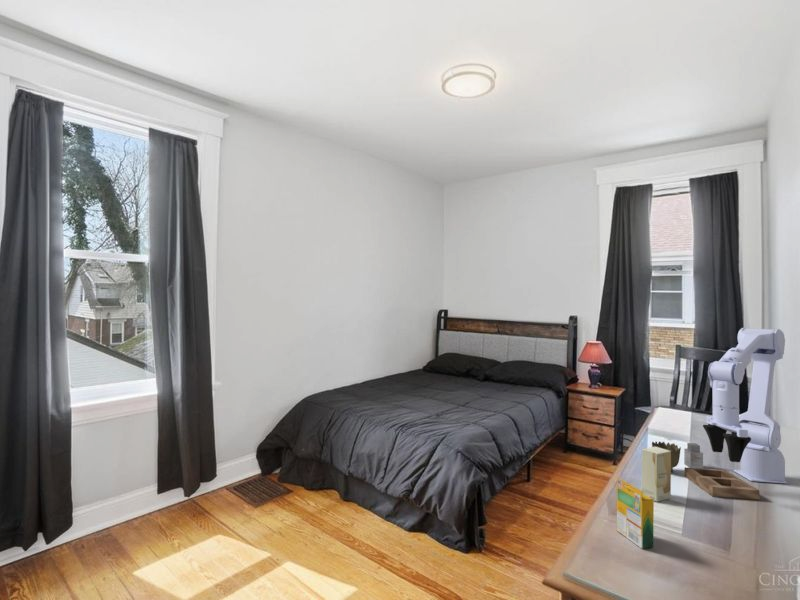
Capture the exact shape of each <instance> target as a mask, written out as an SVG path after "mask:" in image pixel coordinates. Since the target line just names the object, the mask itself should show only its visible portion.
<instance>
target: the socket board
mask: <svg viewBox="0 0 800 600" xmlns="http://www.w3.org/2000/svg"><path fill="white" fill-rule="evenodd" d="M683 468H684V477H685V478H687V479H688V480H689V481H690V482H692V483H693V484H695V485H696V486H697V487H699V488H700V489H701V490H703V491H704V492H706V494H708V495H709V496H712V498H713V497H714V498H725V499H726V498H727V499H739V500H741V499H742V500H753V501H760V490H759V489H758V488H756V487H754V486H753V485H751V484H749V483H748V482H747V481H744V480H743V479H741V478H739V477H738V476H737V475H735V474H733V473H732V472H730V471H727V470H726V469H714V468H703V469H700V468H689V467H687V466H686V467H683Z"/></svg>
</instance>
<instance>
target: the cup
mask: <svg viewBox="0 0 800 600" xmlns="http://www.w3.org/2000/svg"><path fill="white" fill-rule="evenodd" d="M666 443H667V444H666ZM666 443H665V441H662V442H661V441H655V442H654V441H652V442H651V447H659V448H662V449H666V450H669V451H671V473H673V472H674V468H675V467H677V466H678V464H679V463H680V456H681V450H682V449H681V446H680V447H678V444H676V443H670V442H666Z"/></svg>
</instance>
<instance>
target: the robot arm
mask: <svg viewBox="0 0 800 600" xmlns="http://www.w3.org/2000/svg"><path fill="white" fill-rule="evenodd" d="M736 338H737V343H738V344H737V345H736V346H735V347H731V348H730V349H728V350H727V351H726V352H725V353H724V354H723V355H722V357H721V358H720V359H719V360H718V361H717V360H715V361H713V362H711V363H710V364H709V365H708V370H707V375H708V379H709V386H710V388H712V394H711V395H712V415H706V419H705V421H706V423H707V424H703V425H702V428H703V429H704V431H705V432H706V435H707V437H708V440H709V442H710V447H711V451H712V452H713V453H723V450H724V442H726V446H727V454H728V459H729V462H732V463H740V469H733V472H734V473H737V475H739V476H741V477H743V478H745V479H747V480H748V481H750V482H756V483H757V482H759V483H760V482H761V483H771V484H772V483H775V484H786V485H787V484H788V481H787V480H786V459H785V456H784V453H782V451H781V450H780V449H779V447H780V445H781V442H782V434H781V425H780V424H779V422H777V421H776V420H775V419H774V418H773V417H772V416H770V409H771V407H770V406H771V398H772V390H773V381H774V375H775V374H774V372H775V365H776V363H777V362H776V361H779V360H781V359H783V357H784V354H785V346H786V338H785V334H784V331H782V330H781V329H779V328H776V329H772V328H769V329H768V328H747V327H741V328H740V329H739V330H738V333H737V337H736ZM752 361H753V366H752V367H753V368H752V375H751V381H750V390H749V398H748V404H747V405H748V406H747V407H748V408H747V411H745V412H743V413H740V385H741V384H742V382H743V380H744V376H745V373H746V372H745V370H746V369H747V367H748V366H749V365H750V364H751V362H752ZM727 432H729V433H727Z"/></svg>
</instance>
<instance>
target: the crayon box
mask: <svg viewBox="0 0 800 600" xmlns="http://www.w3.org/2000/svg"><path fill="white" fill-rule="evenodd" d="M654 502H655V501H654V500H653V499H652V498H650V497H648V496H646V495H644V494H642V491H641V488H640V489H639V488H638V487H636V486H635V485H632V484H630V483H628V482H626V481H625V480H623V479H622V478H619V477H616V532H618V533H619V534H621V535H622V536H624V537H625V538H626V539H628V540H629V541H630V542H632V543H634V545H636V546H637V547H639V548H640V549H642V550H643V549H644V550H645V549H651V548H654V518H655V517H654V514H655V513H654V507H655V505H654V504H655V503H654Z"/></svg>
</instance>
